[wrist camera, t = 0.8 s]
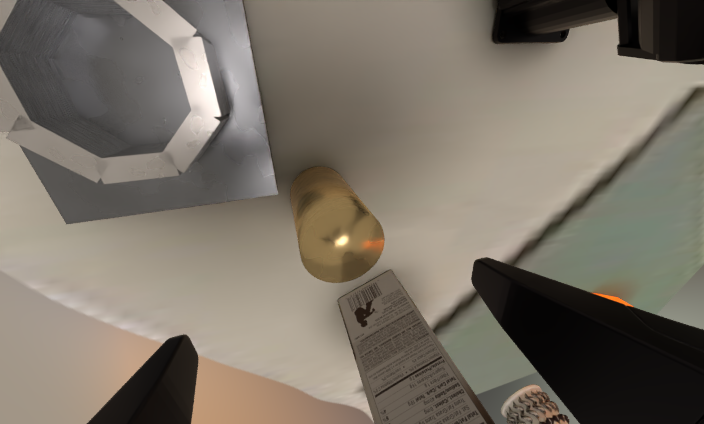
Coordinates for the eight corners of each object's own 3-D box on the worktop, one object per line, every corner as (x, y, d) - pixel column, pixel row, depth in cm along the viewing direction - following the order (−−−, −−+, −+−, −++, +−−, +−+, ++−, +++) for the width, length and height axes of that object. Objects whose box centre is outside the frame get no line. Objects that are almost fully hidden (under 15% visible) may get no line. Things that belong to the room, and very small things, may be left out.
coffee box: (418, 320, 30) (550, 525, 16) (369, 348, 29) (459, 585, 15) (391, 266, 25) (544, 485, 11) (334, 299, 25) (415, 568, 11)
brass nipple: (344, 163, 20) (384, 201, 13) (347, 214, 22) (384, 272, 15) (286, 170, 19) (294, 215, 12) (294, 223, 21) (306, 290, 14)
